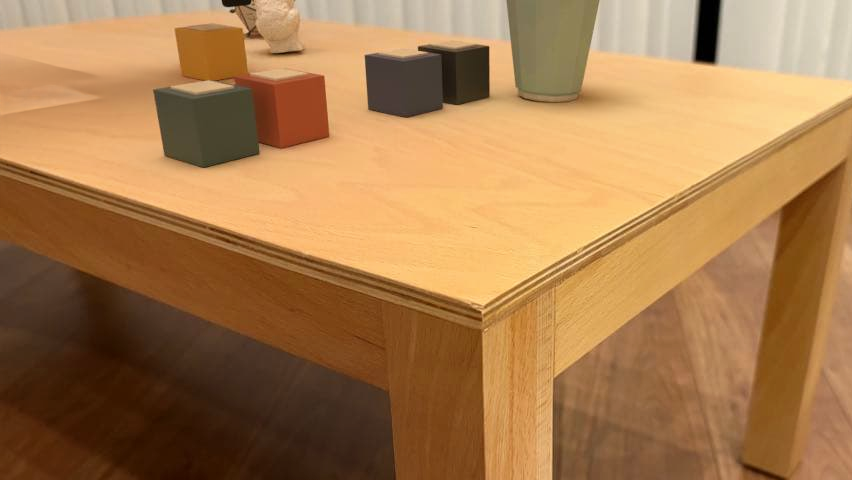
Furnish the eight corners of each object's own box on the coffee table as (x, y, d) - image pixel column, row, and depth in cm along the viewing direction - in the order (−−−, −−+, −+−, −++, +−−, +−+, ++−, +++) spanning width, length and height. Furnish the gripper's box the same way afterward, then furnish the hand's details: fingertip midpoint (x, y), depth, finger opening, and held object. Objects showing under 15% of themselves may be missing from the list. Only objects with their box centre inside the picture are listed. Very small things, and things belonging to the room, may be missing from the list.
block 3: (406, 117, 78) (403, 59, 76) (367, 109, 81) (364, 52, 78) (443, 108, 82) (441, 52, 79) (405, 100, 84) (402, 46, 82)
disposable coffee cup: (522, 82, 94) (524, -67, 88) (616, 91, 91) (626, -63, 84) (482, 101, 85) (481, -64, 79) (585, 112, 82) (592, -59, 75)
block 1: (203, 167, 63) (192, 96, 60) (164, 155, 65) (152, 86, 63) (260, 153, 66) (251, 85, 64) (220, 142, 69) (211, 77, 67)
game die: (275, 60, 124) (303, -1, 125) (281, 47, 116) (311, -19, 117) (214, 29, 121) (243, -34, 122) (216, 13, 113) (247, -54, 114)
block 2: (281, 148, 68) (273, 81, 66) (241, 137, 70) (233, 73, 68) (329, 136, 71) (324, 72, 69) (290, 126, 74) (284, 65, 72)
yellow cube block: (209, 81, 91) (201, 30, 89) (181, 75, 94) (173, 26, 91) (248, 75, 95) (242, 26, 92) (221, 69, 97) (214, 21, 95)
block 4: (457, 104, 83) (456, 49, 81) (419, 97, 86) (417, 44, 84) (489, 96, 87) (489, 43, 85) (452, 90, 89) (451, 38, 87)
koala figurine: (303, 45, 114) (294, -53, 108) (327, 52, 109) (319, -50, 104) (241, 51, 109) (229, -52, 103) (264, 58, 104) (251, -48, 99)
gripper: (96, -183, 85) (130, -2, 93) (199, -189, 76) (228, 13, 84) (164, -178, 91) (192, -8, 98) (268, -184, 82) (290, 5, 89)
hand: (209, 1), depth 91 cm, fingers open, 9 cm apart
